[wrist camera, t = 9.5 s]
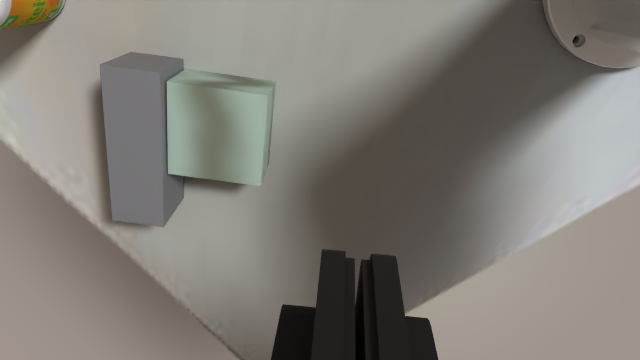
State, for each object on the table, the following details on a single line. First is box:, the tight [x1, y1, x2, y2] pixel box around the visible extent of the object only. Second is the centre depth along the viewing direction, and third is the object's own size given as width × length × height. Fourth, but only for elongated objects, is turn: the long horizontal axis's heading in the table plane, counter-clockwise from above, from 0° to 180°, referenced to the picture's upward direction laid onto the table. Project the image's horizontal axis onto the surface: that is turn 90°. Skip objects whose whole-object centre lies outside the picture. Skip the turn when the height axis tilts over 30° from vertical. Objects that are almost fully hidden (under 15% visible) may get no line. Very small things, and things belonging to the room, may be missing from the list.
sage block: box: [167, 69, 276, 186], centre depth 35 cm, size 7×7×4 cm
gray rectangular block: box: [100, 52, 184, 227], centre depth 35 cm, size 4×12×5 cm, turn 173°
